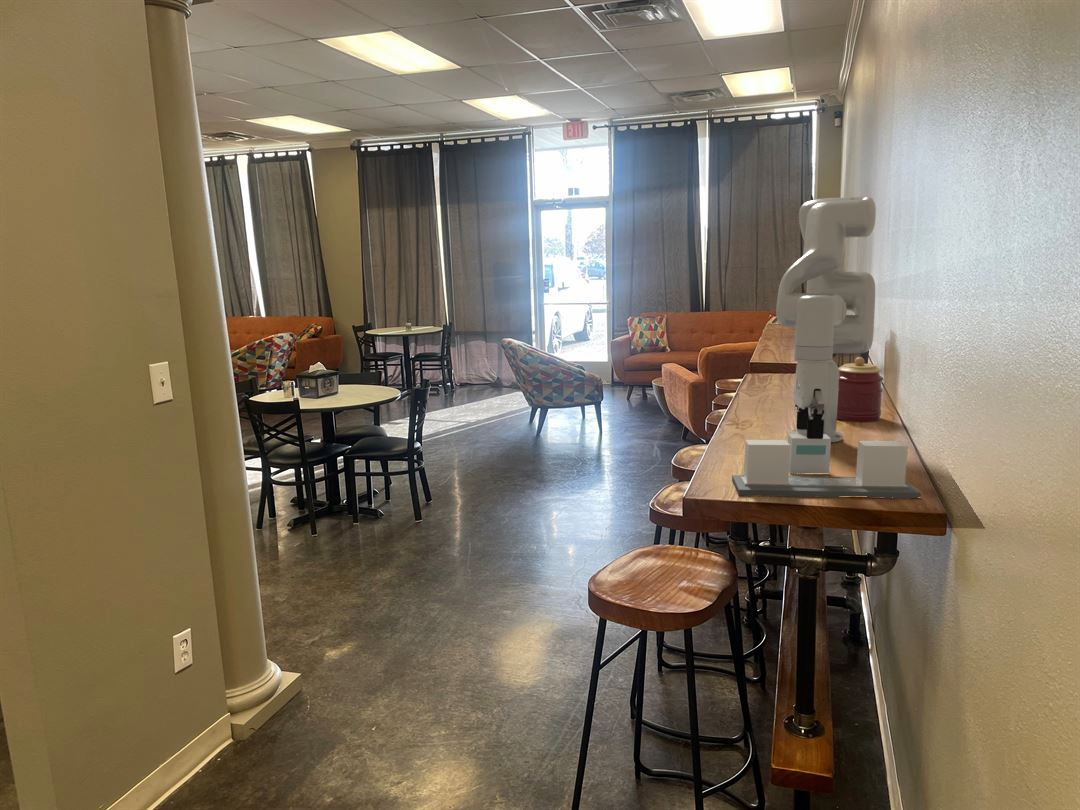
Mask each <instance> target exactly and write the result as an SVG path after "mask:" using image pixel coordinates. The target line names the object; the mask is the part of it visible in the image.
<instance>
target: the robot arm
mask: <svg viewBox="0 0 1080 810" xmlns="http://www.w3.org/2000/svg"><path fill="white" fill-rule="evenodd" d="M876 208H877V207H876V203H875V200H874V199H873V198H872V197H870V196H849V197H848V196H847V197H826V198H816V199H812V200H808V201H805V202H804V203H803V204H802V205H801V206H800V207H799V211H798V222H799V229H800V232H801V236H802V239H803V242H804V245H803V251H802V252H803V254H802V256H801V257H800V258H798V259H797V260H796V261H795V262H793V263H792V264H791V266H789V268H788V269H787V270H786V272H784V274H783V276H782V278H781V279H780V283H779V286H778V291H777V292H778V293H777V300H776V306H775V307H776V308H775V309H776V311H775V316H776V320H777V322H778V324H779V325H780V326H782V327H784V328H789V329H791V328H793V329H795V338H794V357H793V358H794V362H796V367H795V377H794V386H793V387H794V388H793V397H792V400H793V403H794V404H796V405H797V406H798V407H797V409H796V410H797V411H796V427H795V429H792V430H791V431H790V432H789V434H807V438H808V439H822V438H823V434H826V435H828V436H829V437H830V438H831V442H833V443H837V442H841V441H842V440H843V434H842V433H841V432H839V431H837V420H838V419H837V407H838V390H839V369H838V368H839V367H838V365H837V363H836V361H834V360H833V355H834V354H854V355H855V354H864V353H867V352H868V351H870V349H871V348H872V346H873V341H874V333H875V332H874V331H875V329H874V328H875V312H876V311H875V309H876V308H875V307H876V283H875V279H874V277H873V275H872V274H870V273H869V272H867V271H845V269H844V268H845V256H846V254H845V252H844V245H845V244H844V242H845V241H844V240H845V238H866V237H868V236H871V234H872V233H873V230H874V228H875V225H876V214H877V213H876V211H877V209H876ZM804 283H806V293H804V292H803V293H801V292H800V293H793V291H794V290H795V289H796V288H797V287H798V286H800V285H802V284H804ZM847 311H852V312H853V313H854V314H847Z"/></svg>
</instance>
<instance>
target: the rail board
mask: <svg viewBox="0 0 1080 810" xmlns="http://www.w3.org/2000/svg"><path fill="white" fill-rule="evenodd" d="M741 477H744V475H743V474H732V475H731V482H732V483H733V486H734V488H735V490H736V493H737V495H738V496H745V497H746V496H747V497H748V496H749V497H750V496H753V497H795V498H796V497H801V498H802V497H803V498H804V497H807V498H809V497H810V496H811V497H810V498H815V497H816V496H818V497H816V498H840V497H839V496H867V497H888V498H887V499H903V498H918V497H921V498H922V492H921V491H920V490H919V489H917V488H916V487H915V486H914V485H912V484H911V483H910V482H909V481H907V480H906V479H905V484H906V485H907V486H908V489H897V488H838V487H779V486H745V485H744V483H743V481H742V479H741ZM789 477H790V478H855V479H856V476H832V475H831V476H830V475H827V476H826V475H824V476H823V475H822V476H821V475H819V476H818V475H816V476H815V475H789ZM892 497H893V498H892Z"/></svg>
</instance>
